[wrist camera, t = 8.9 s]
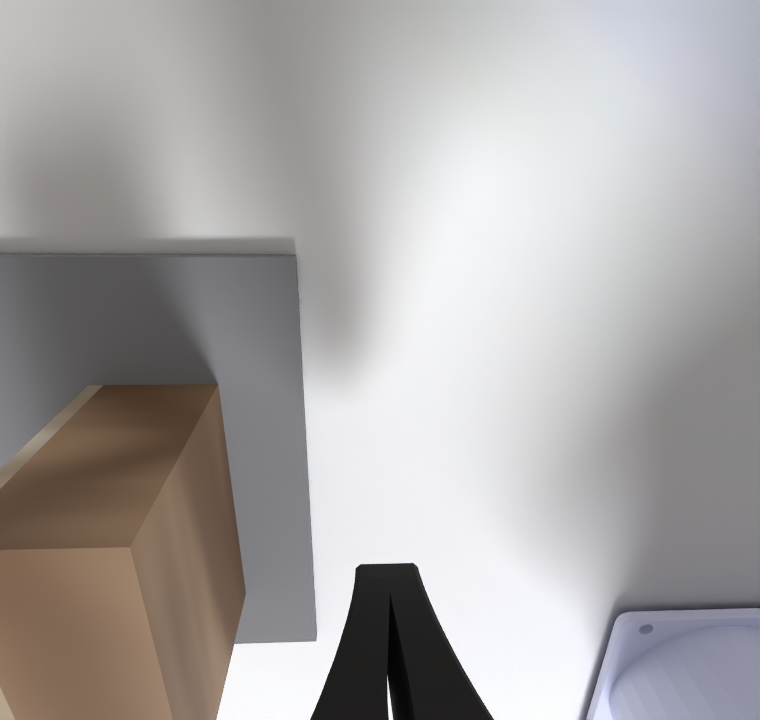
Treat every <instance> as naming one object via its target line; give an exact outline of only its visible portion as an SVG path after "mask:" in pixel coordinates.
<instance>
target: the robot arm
mask: <svg viewBox="0 0 760 720" xmlns="http://www.w3.org/2000/svg"><path fill="white" fill-rule="evenodd" d="M387 675H388V683H389V690H390V698H391V705H392V713H393V720H494V719H493V718H492V716H491V714H490V713H489V711H488V710H487V708H486V706H485V705H484V703H483V702H482V700H481V698H480V697H479V695H478V693H477V692H476V690H475V688H474V687H473V685H472V683H471V681H470V680H469V678H468V676H467V675H466V673H465V671H464V669H463V668H462V666H461V664H460V662H459V660H458V658H457V657H456V655H455V653H454V651H453V649H452V647H451V645H450V643H449V641H448V639H447V637H446V635H445V633H444V631H443V629H442V627H441V625H440V623H439V621H438V619H437V616H436V614H435V612H434V610H433V607H432V605H431V603H430V600H429V598H428V596H427V593H426V591H425V588H424V585H423V582H422V580H421V577H420V574H419V570H418V567H417V566H416V565H415V564H414V563H401V564H361V565H359V566H358V567H357V568H356V574H355V583H354V590H353V595H352V600H351V604H350V608H349V612H348V616H347V620H346V623H345V627H344V630H343V633H342V636H341V640H340V643H339V646H338V650H337V652H336V655H335V658H334V661H333V664H332V666H331V669H330V672H329V674H328V677H327V680H326V682H325V685H324V688H323V690H322V693H321V696H320V698H319V700H318V703H317V705H316V708H315V710H314V712H313V715H312V717H311V719H310V720H389V718H388V703H387ZM586 720H760V608H740V609H705V610H670V611H634V612H625V613H623V614H621V615H619V616H618V617H617V619H616V621H615V623H614V626H613V630H612V633H611V637H610V640H609V643H608V647H607V650H606V654H605V657H604V660H603V664H602V667H601V671H600V674H599V677H598V681H597V684H596V688H595V691H594V694H593V698H592V701H591V705H590V708H589V712H588V715H587V718H586Z"/></svg>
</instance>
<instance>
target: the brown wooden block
mask: <svg viewBox="0 0 760 720" xmlns="http://www.w3.org/2000/svg"><path fill="white" fill-rule="evenodd" d="M245 596H246V590H245V582H244V574H243V567H242V559H241V552H240V544H239V537H238V529H237V521H236V514H235V506H234V499H233V491H232V484H231V476H230V469H229V461H228V453H227V446H226V438H225V431H224V423H223V416H222V408H221V400H220V393H219V385H218V384H186V385H88V386H87V387H86V388H85V389H84V390H83V391H82V392H81V393H80V394H78V395H77V396H76V397H75V398H74V399H73V400H72V401H71V402H70V403H69V404H68V405H67V406H66V407H65V408H64V409H63V410H62V411H61V412H60V413H58V414H57V415H56V416H55V417H54V418H53V419H52V420H51V421H50V422H49V423H48V424H47V425H46V426H45V427H44V428H43V429H42V430H41V431H40V432H38V433H37V434H36V435H35V436H34V437H33V438H32V439H31V440H30V441H29V442H28V443H27V444H26V445H25V446H24V447H23V448H22V449H21V450H20V451H18V452H17V453H16V454H15V455H14V456H13V457H12V458H11V459H10V460H9V461H8V462H7V463H6V464H5V465H4V466H3V467H2V468H1V469H0V720H216V718H217V714H218V709H219V705H220V701H221V697H222V693H223V688H224V684H225V680H226V676H227V672H228V667H229V663H230V659H231V655H232V651H233V646H234V642H235V638H236V634H237V629H238V625H239V621H240V617H241V613H242V608H243V604H244V600H245Z"/></svg>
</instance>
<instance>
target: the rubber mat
mask: <svg viewBox="0 0 760 720" xmlns="http://www.w3.org/2000/svg"><path fill="white" fill-rule="evenodd" d="M186 384H218V385H219V393H220V400H221V408H222V416H223V423H224V431H225V438H226V446H227V453H228V461H229V469H230V476H231V484H232V491H233V499H234V506H235V514H236V521H237V529H238V537H239V544H240V552H241V559H242V567H243V574H244V582H245V590H246V596H245V600H244V604H243V608H242V613H241V617H240V621H239V625H238V629H237V634H236V638H235V642H234V644H242V643H275V642H308V641H316V638H317V628H316V610H315V591H314V573H313V555H312V537H311V518H310V500H309V482H308V464H307V445H306V427H305V409H304V390H303V372H302V354H301V336H300V317H299V299H298V281H297V262H296V255H160V254H0V469H1V468H2V467H3V466H4V465H5V464H6V463H7V462H8V461H9V460H10V459H11V458H12V457H13V456H14V455H15V454H16V453H17V452H18V451H20V450H21V449H22V448H23V447H24V446H25V445H26V444H27V443H28V442H29V441H30V440H31V439H32V438H33V437H34V436H35V435H36V434H37V433H38V432H40V431H41V430H42V429H43V428H44V427H45V426H46V425H47V424H48V423H49V422H50V421H51V420H52V419H53V418H54V417H55V416H56V415H57V414H58V413H60V412H61V411H62V410H63V409H64V408H65V407H66V406H67V405H68V404H69V403H70V402H71V401H72V400H73V399H74V398H75V397H76V396H77V395H78V394H80V393H81V392H82V391H83V390H84V389H85V388H86V387H87V386H88V385H186Z"/></svg>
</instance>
